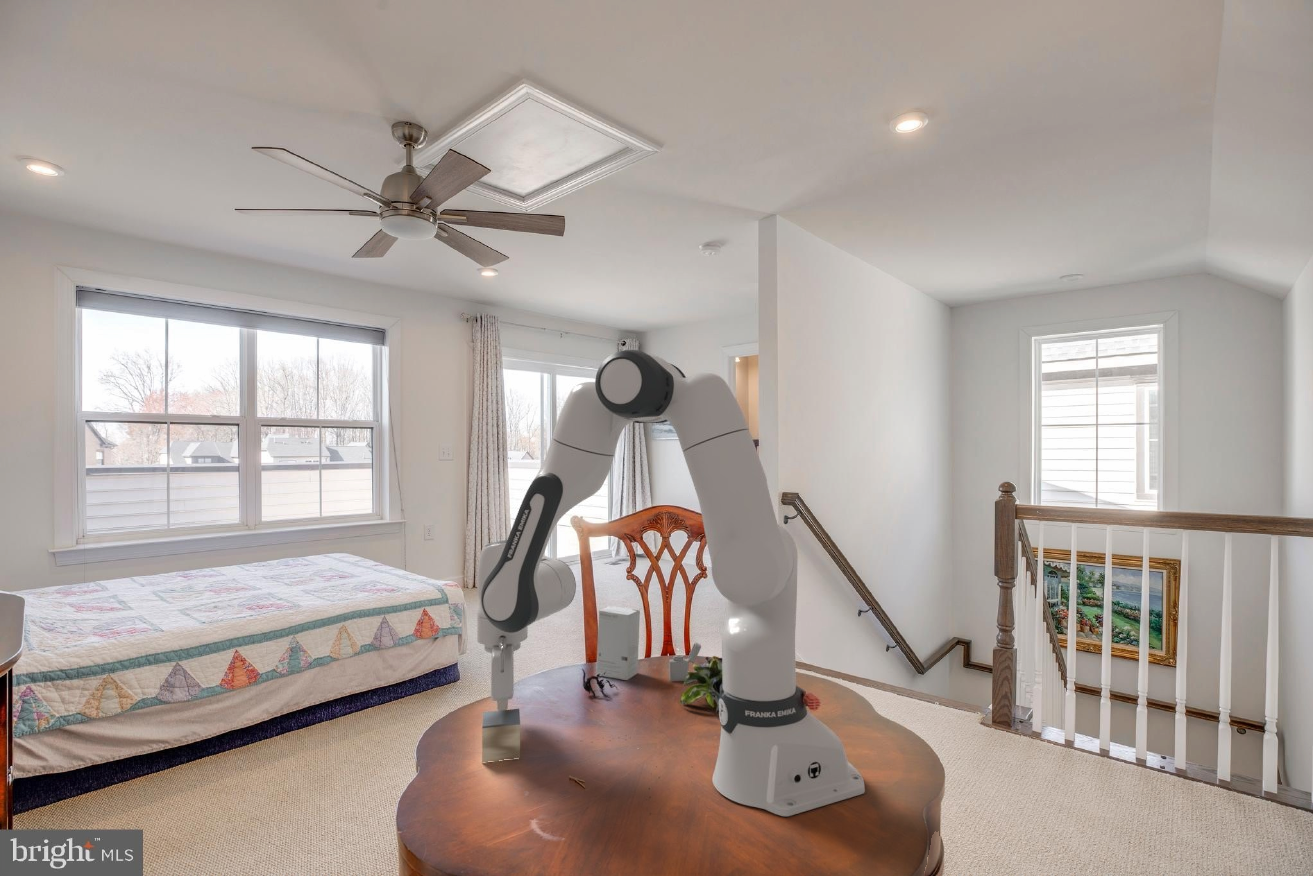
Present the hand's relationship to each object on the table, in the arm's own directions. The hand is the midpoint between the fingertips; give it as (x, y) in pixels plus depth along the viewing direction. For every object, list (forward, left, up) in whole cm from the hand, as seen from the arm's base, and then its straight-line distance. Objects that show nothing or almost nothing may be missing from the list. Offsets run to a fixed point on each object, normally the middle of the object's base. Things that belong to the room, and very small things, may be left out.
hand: (502, 707), depth 111 cm
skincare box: (-26, -26, -5) cm, 37 cm away
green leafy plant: (-41, -3, -5) cm, 41 cm away
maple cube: (0, +7, -5) cm, 9 cm away
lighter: (-40, -19, -5) cm, 44 cm away
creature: (-20, -15, -5) cm, 26 cm away
